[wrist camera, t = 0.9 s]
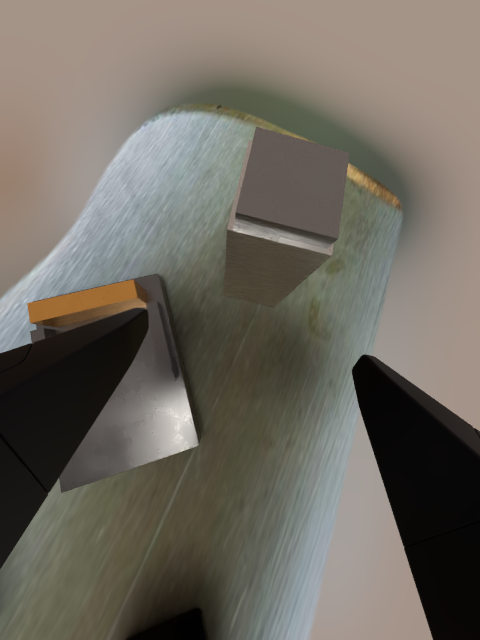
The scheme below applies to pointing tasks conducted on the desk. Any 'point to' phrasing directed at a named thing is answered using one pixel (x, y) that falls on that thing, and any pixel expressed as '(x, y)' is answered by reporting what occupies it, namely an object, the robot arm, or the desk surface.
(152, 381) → the grey base plate
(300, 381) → the desk surface
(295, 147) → the block
